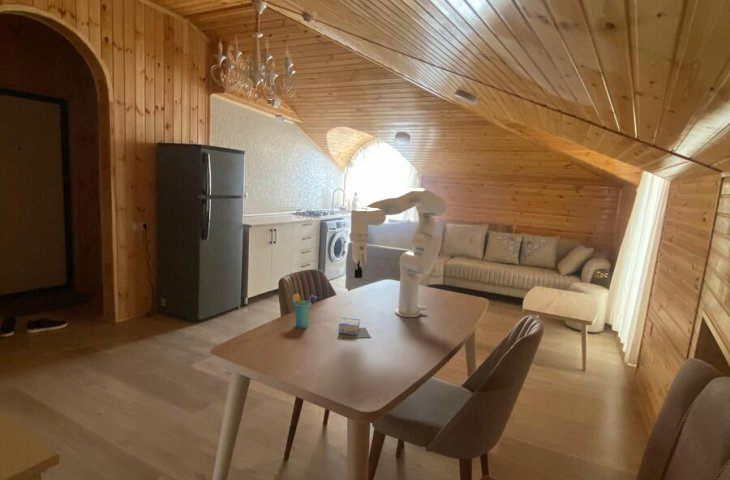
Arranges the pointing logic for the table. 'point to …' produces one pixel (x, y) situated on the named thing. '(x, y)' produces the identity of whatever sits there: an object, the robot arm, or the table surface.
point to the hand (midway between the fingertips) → (358, 277)
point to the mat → (361, 334)
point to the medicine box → (349, 326)
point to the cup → (302, 310)
